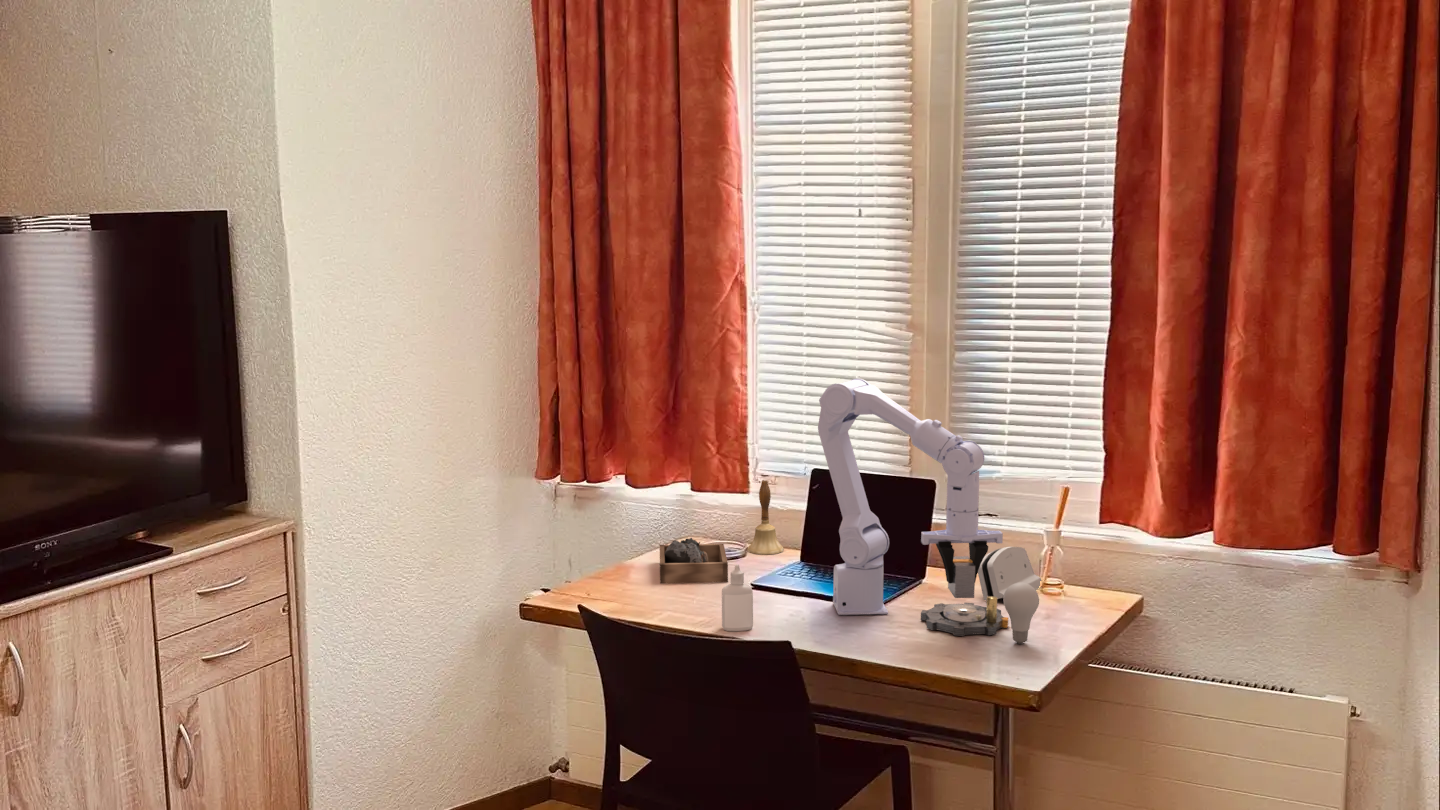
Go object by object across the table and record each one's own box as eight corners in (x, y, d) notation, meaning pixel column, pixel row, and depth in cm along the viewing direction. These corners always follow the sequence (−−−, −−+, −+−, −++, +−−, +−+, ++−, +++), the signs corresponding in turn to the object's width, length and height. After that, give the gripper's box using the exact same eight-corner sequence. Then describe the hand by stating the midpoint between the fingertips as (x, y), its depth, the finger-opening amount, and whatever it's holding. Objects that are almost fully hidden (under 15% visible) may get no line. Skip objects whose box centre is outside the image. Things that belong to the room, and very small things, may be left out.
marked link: (954, 598, 226) (955, 565, 225) (947, 587, 232) (948, 555, 231) (974, 597, 226) (975, 565, 225) (967, 587, 232) (968, 555, 231)
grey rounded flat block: (1006, 605, 243) (992, 555, 244) (985, 608, 246) (971, 559, 247) (1044, 585, 256) (1029, 538, 256) (1023, 589, 259) (1009, 542, 259)
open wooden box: (660, 583, 259) (659, 564, 258) (659, 562, 275) (659, 544, 274) (727, 582, 259) (727, 563, 259) (723, 561, 275) (723, 543, 275)
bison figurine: (696, 581, 259) (731, 568, 266) (693, 549, 258) (728, 536, 265) (658, 571, 268) (693, 558, 275) (655, 540, 267) (690, 527, 273)
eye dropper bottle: (747, 633, 227) (747, 569, 225) (718, 630, 229) (718, 566, 227) (755, 626, 231) (755, 563, 229) (727, 623, 233) (727, 560, 231)
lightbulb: (997, 638, 223) (999, 578, 222) (1031, 637, 224) (1033, 577, 222) (1008, 650, 217) (1010, 588, 216) (1042, 649, 218) (1044, 587, 216)
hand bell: (744, 554, 282) (744, 484, 279) (751, 544, 290) (751, 476, 287) (780, 555, 280) (780, 485, 277) (786, 546, 288) (786, 478, 286)
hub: (948, 630, 228) (948, 615, 228) (939, 617, 235) (939, 603, 235) (989, 629, 228) (990, 614, 228) (979, 616, 236) (979, 602, 235)
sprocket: (981, 641, 221) (981, 609, 220) (906, 624, 231) (907, 593, 230) (1021, 620, 233) (1022, 590, 232) (948, 604, 243) (949, 575, 242)
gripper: (927, 514, 223) (925, 588, 225) (1008, 513, 224) (1005, 587, 226) (919, 505, 230) (918, 577, 232) (997, 504, 231) (995, 576, 233)
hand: (960, 581), depth 229 cm, fingers closed on marked link, 3 cm apart
